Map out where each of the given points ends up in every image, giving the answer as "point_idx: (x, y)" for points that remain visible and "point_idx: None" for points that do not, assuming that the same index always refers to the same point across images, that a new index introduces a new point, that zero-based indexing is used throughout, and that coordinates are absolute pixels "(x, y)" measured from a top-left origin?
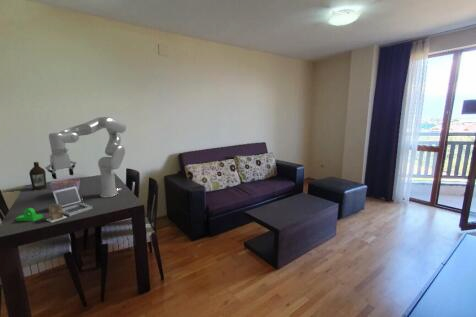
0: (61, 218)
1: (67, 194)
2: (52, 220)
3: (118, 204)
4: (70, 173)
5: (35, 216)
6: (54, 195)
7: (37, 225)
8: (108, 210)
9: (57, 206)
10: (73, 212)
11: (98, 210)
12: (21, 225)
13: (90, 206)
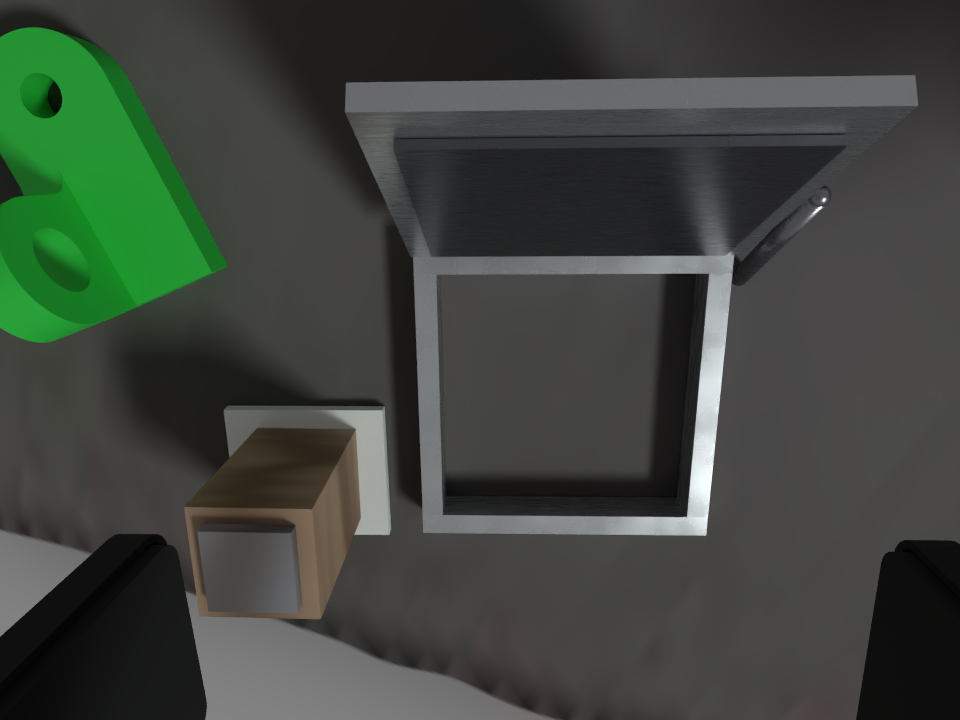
0: None
1: (607, 193)
2: None
3: None
4: (921, 710)
5: (124, 310)
6: (371, 165)
7: (129, 481)
8: (747, 705)
9: (266, 617)
10: (471, 529)
11: (696, 616)
12: None
13: (690, 526)
